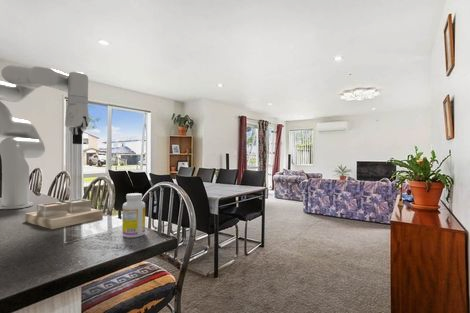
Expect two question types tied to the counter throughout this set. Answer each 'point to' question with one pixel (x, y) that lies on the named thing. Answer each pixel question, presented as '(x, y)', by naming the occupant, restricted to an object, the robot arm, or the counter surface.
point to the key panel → (63, 214)
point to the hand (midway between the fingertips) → (77, 143)
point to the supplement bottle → (133, 216)
